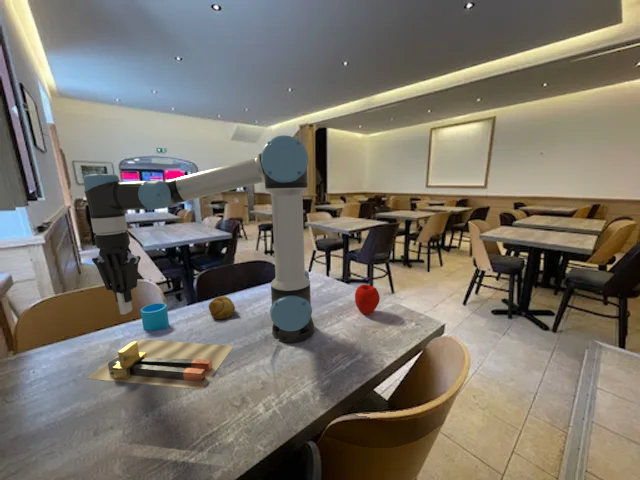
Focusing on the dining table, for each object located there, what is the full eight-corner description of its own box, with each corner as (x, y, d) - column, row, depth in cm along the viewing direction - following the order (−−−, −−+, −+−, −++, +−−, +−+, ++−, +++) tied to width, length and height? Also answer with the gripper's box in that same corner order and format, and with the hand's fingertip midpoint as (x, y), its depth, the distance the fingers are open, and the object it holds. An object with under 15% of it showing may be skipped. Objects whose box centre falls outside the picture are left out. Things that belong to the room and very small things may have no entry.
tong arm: (212, 367, 78) (211, 359, 77) (209, 371, 76) (208, 363, 75) (134, 364, 79) (133, 356, 78) (129, 368, 77) (128, 360, 77)
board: (234, 350, 88) (234, 345, 88) (202, 394, 70) (202, 389, 69) (140, 343, 92) (140, 339, 92) (87, 383, 74) (86, 378, 73)
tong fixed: (210, 371, 76) (209, 363, 76) (201, 382, 72) (200, 374, 71) (118, 363, 79) (117, 355, 79) (105, 373, 75) (103, 365, 75)
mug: (166, 331, 99) (164, 310, 98) (140, 335, 97) (137, 314, 95) (172, 316, 110) (170, 297, 109) (149, 320, 108) (146, 300, 106)
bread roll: (211, 308, 117) (209, 291, 116) (234, 305, 120) (233, 288, 119) (209, 323, 105) (207, 303, 104) (235, 319, 108) (234, 300, 107)
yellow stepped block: (147, 361, 80) (144, 339, 78) (127, 379, 73) (123, 355, 71) (135, 360, 80) (131, 338, 79) (114, 377, 73) (109, 354, 72)
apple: (382, 311, 115) (383, 283, 113) (373, 320, 107) (374, 291, 104) (360, 305, 120) (361, 279, 118) (350, 314, 112) (351, 286, 110)
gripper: (143, 229, 78) (156, 306, 82) (101, 230, 79) (116, 306, 84) (122, 234, 70) (137, 319, 75) (76, 235, 72) (94, 317, 76)
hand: (126, 312), depth 79 cm, fingers closed
